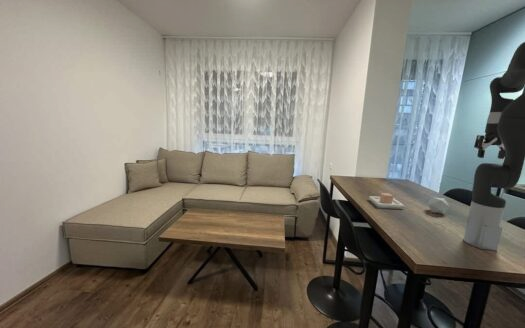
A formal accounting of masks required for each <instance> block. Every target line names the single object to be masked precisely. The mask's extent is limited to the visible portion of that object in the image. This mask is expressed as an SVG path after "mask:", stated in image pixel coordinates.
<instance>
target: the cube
mask: <svg viewBox="0 0 525 328" xmlns="http://www.w3.org/2000/svg"><path fill="white" fill-rule="evenodd" d="M379 197H380V201H381V202H382V203H384V204H392V201H393V198H394V195H392V194H391V193H387V192H380V195H379Z"/></svg>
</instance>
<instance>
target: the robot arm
mask: <svg viewBox="0 0 525 328" xmlns="http://www.w3.org/2000/svg"><path fill="white" fill-rule="evenodd" d="M524 88H525V41H523V42H522V43H521V44H519V45H518V46H517V48H516V49H515V51H514V53H513V55H512V57H511V59H510V62H509V64H508V67H507V69H506V71H505V72H504V74H503V75H502V76H497V77H495V78H493V79H492V80H491V81H490V84H489V91H490V92H489V93H490V96H491V97H490V98H491V105H490V110H489V112H488V113H489V114H488V116H487V119H486V125H485V130H484V133H485V135H483V134H482V135H481V134H480V135H479V134H478V135H476V139H475V142H474V146H473V147H474V149H477V150H478V151H477V155H476V156H477V158H479V159H484V157H485V153H486V149H487V148H488V147H490V146H496V147H498V148H499V151H498V154H497V159H498V160H499V159H500V160H503V162H502V163H489V162H485V163H480V164H479V165H477V167H476V169H475V172H474V175H473V176H474V178H473V186H472V190H471V191H472V192H471V195H472V197H471V203H470V207H469V212H468V216H467V220H466V225H465V230H464V235H463V241H464V242H465V243H467V244H468V245H470V246H473V247H475V248H478V249H479V250H485V251H486V250H490V251H498V249H499V248H498V247H499V243H500V240H501V236H502V233H503V227H502V226H501V224H502V220H503V217H504V212H505V207H506V204H507V200H506V199H505V198H503V197H501V196H499V195H498V196H497V195H495V194H494V193H492V188H494V189H503V190H504V189H513V188H514V187H515V186H517V184H518V183H519V180H520V178H521V175H522V172H523V167H524V163H525V91H524V92H523V93H521V95H519V96H518V97H516V98H515V99H513V98H509V97H503V96H502V95H501V94H512V93H515V94H516V93H518V92H521V91H522V90H523V89H524Z"/></svg>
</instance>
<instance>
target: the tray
mask: <svg viewBox="0 0 525 328" xmlns="http://www.w3.org/2000/svg"><path fill="white" fill-rule="evenodd" d="M368 201H370V202H371V203H372V204H373V205H374V206H376V208H378V209H392V210H405V205H404V204H403V203H401V202H400V201H399V200H397V199H396V198H395V197H393V201H392V204H384V203H382V202H381V201H380V196H374V195H373V196H372V195H370V196H368Z"/></svg>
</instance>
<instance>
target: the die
mask: <svg viewBox="0 0 525 328" xmlns="http://www.w3.org/2000/svg"><path fill="white" fill-rule="evenodd" d="M426 205H427V207H428V208H429V210H430V211H431V213H434V214H439V215H440V214H441V215H444V214H445V213H446V212H447V211H448V209H449V208H450V205H449V203H448V202H447V201H446V199H445V198H442V197H436V196H435V197H434V196H432V197H431V199H430V200H429V201H428V203H427V204H426Z"/></svg>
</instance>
